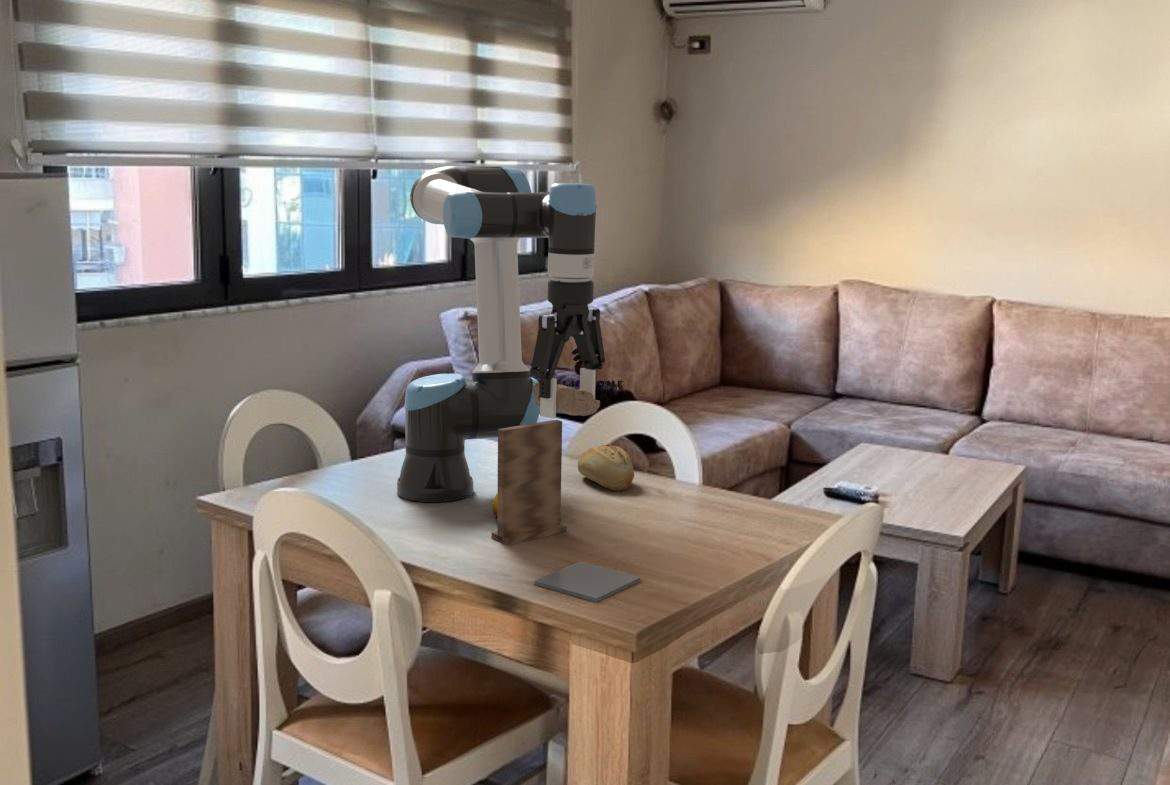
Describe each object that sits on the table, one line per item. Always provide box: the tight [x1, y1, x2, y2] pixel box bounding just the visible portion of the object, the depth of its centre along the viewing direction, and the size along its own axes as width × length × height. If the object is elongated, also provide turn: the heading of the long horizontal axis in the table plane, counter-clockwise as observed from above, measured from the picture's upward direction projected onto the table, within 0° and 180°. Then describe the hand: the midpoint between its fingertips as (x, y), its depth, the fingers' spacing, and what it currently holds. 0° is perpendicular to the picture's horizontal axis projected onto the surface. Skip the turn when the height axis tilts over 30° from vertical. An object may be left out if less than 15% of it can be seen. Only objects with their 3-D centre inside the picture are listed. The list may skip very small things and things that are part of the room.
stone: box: [533, 381, 601, 417], centre depth 197 cm, size 9×11×5 cm
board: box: [491, 419, 567, 546], centre depth 207 cm, size 13×5×20 cm, turn 131°
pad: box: [533, 561, 642, 603], centre depth 186 cm, size 12×12×1 cm
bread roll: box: [577, 443, 635, 492], centre depth 243 cm, size 10×15×8 cm, turn 35°
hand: (567, 411), depth 197 cm, fingers closed on stone, 10 cm apart
